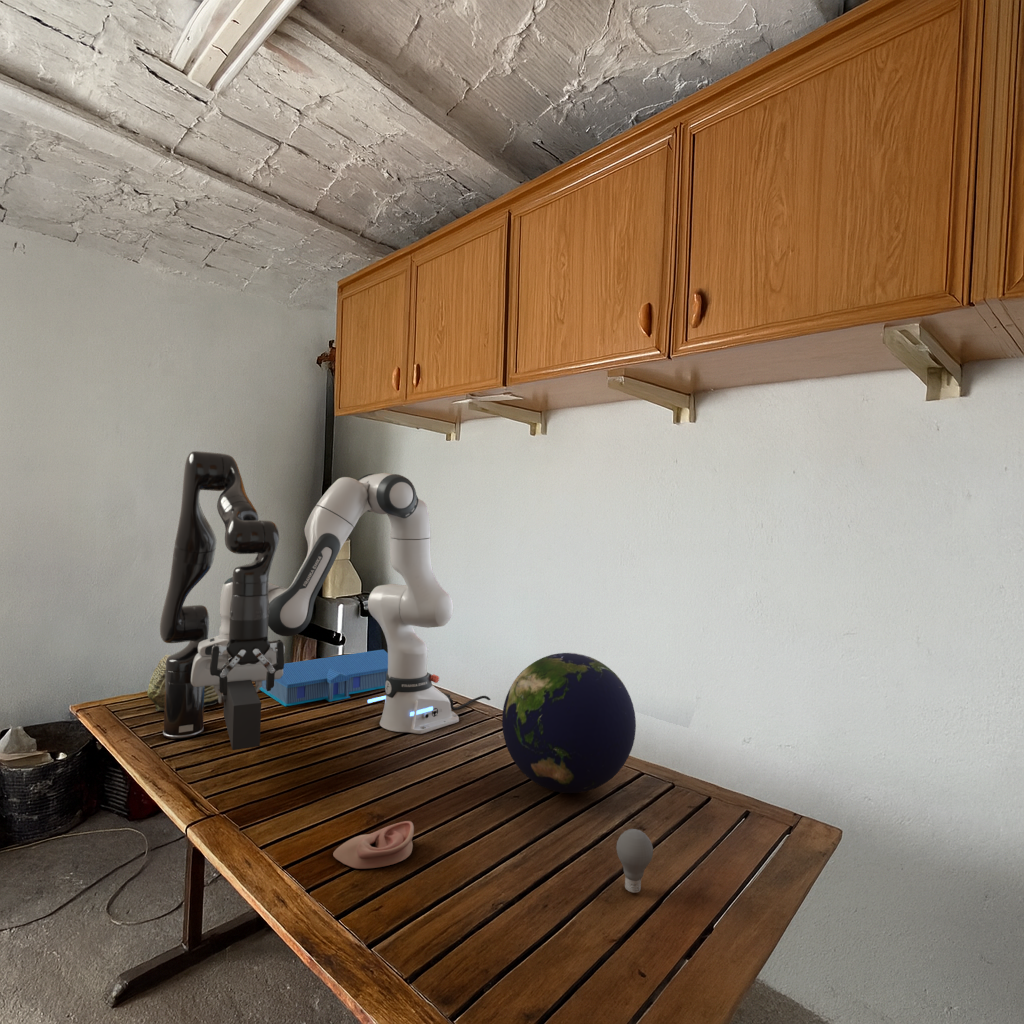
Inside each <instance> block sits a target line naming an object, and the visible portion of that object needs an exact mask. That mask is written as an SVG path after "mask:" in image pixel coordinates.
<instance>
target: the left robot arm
mask: <svg viewBox="0 0 1024 1024" xmlns="http://www.w3.org/2000/svg"><path fill="white" fill-rule="evenodd" d="M183 470H184V471H183V480H182V481H183V482H182V492H181V505H180V513H179V520H178V525H177V530H176V536H175V540H174V545H173V551H172V552H173V553H172V561H171V569H170V577H169V583H168V588H167V591H166V595H165V599H164V603H163V608H162V611H161V616H160V621H159V636H160V638H161V640H162V641H163V642H164V643H166V644H178V643H188V644H187V645H186V646H184V647H183V648H182V649H180V650H179V651H177V652H175V653H173V654H170V655H171V656H169V657H168V658H167V660H166V674H165V705H164V710H163V730H162V737H164V738H166V739H169V740H185V739H190V738H191V739H192V738H194V737H197V736H199V735H202V734H203V732H204V730H205V729H204V726H205V725H204V722H205V721H204V718H205V706H204V693H205V686H202V687H194V686H193V685H192V684H191V671H192V665H193V661H194V658H195V656H196V655H197V654H198V644H199V642H201V641H203V640H206V639H209V633H210V613H209V610H208V609H207V607H206V606H205V605H203V604H194V605H193V604H192V605H184V603H185V601H186V600H187V597H188V595H189V594H190V593H191V591H193V589H194V588H195V587H196V585H198V584H199V582H200V581H201V580H202V579H203V578H204V577H205V576H206V575H207V573H209V571H210V570H211V568H212V566H213V564H214V559H215V555H216V549H217V537H216V534H215V531H214V530H213V528H212V526H211V524H210V522H209V520H208V519H207V517H206V515H205V513H204V512H203V509H202V507H201V503H200V493H201V491H210V492H211V491H212V492H221V494H220V495H219V497H218V499H217V502H216V509H217V513H218V515H219V517H220V519H221V521H222V523H223V524H224V530H225V532H224V544H225V547H226V549H227V550H228V551H229V552H231V553H233V554H236V555H256V556H255V558H254V560H253V561H252V562H249V563H245V564H242V565H238V566H236V567H235V568H234V569H233V571H232V577H233V583H232V599H231V604H230V629H229V642H228V644H227V645H218V644H214V645H213V646H212V653H211V662H210V674H211V675H212V676H214V675H215V676H218V677H219V691H220V693H222V694H223V696H225V695H227V674H228V673H229V672H230V671H231V670H232V669H233V668H234V667H235V665H236V664H240V665H245V664H256V663H258V662H259V661H260V662H261V663H262V664H263V665H264V667H265V668H266V669H267V670H268V672H267V675H266V690H267V691H271V688H273V687H274V678H275V672H276V671H278V670H282V669H283V668H284V664H285V653H284V646H285V644H284V643H283V641H282V640H281V639H277V640H276V642H269V641H270V640H269V626H268V620H269V599H268V584H269V583H270V582H269V581H270V580H269V579H270V572H271V569H272V564H273V562H274V557H275V555H276V553H277V549H278V547H279V542H280V530H279V528H278V525H276V523H275V522H274V521H271V520H265V519H264V520H263V519H261V520H259V519H260V518H259V513H258V511H257V509H256V508H255V506H254V504H253V503H252V501H251V500H250V499H249V496H248V495H247V492H246V489H245V485H244V482H243V478H242V475H241V472H240V468H239V466H238V463H237V461H236V460H235V459H234V456H231V455H230V454H227V453H222V452H210V451H201V450H200V451H199V450H194V451H190V452H189V453H188V455H187V457H186V459H185V464H184V469H183ZM270 647H271V648H273V651H274V652H276V664H273V665H272V664H271V663H270V662H269V661H268V659H267V658H266V657H265V656H264V655H265V654H266V652H267V651H268V650H269V648H270ZM226 650H227V652H228V653H229V655H230V656H231V657H230V658H229V659H228V660H227V662H226V663H225V665H224V666H223V667H222V668H221V669H218V668H217V667H218V657H219V656H221V655H222V654H223V652H224V651H226Z"/></svg>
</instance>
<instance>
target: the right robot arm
mask: <svg viewBox="0 0 1024 1024" xmlns="http://www.w3.org/2000/svg"><path fill="white" fill-rule="evenodd" d="M366 512H368V513H374V514H377V515H378V514H379V515H386V516H387V517H388V520H389V522H390V523H389V524H390V558H389V559H390V560H389V561H390V565H391V568H393V570H394V571H396V573H399V575H400V576H401V577H402V578H403V580H404V582H405V584H398V583H397V584H396V583H388V584H381V585H377V586H375V587H374V588H373V589H372V591H371V592H370V593H369V596H368V600H367V608H368V612H369V614H370V616H372V618H373V619H374V620H375V621H376V622H377V623H378V625H379V626H380V627H381V630H382V632H383V636H384V637H385V641H386V645H387V647H386V648H387V653H388V673H387V674H386V683H385V688H384V691H385V695H383V696H379V697H373V698H370V699H367V704H371V703H373V702H379V701H383V700H384V706H383V710H382V714H381V717H380V721H379V726H380V727H381V728H383V729H385V730H387V731H390V732H397V733H411V734H417V735H422V734H426V733H429V732H432V731H435V730H438V729H441V728H444V727H447V726H450V725H454V724H457V723H459V721H460V718H459V715H458V714H457V713H456V712H455V711H457V710H461V709H462V708H464V707H467V706H469V705H470V704H472V703H475V702H476V701H479V700H482V699H486V700H487V701H491V698H490V697H489V696H488V695H480V696H478V697H475V698H472V699H470V700H468V701H467V702H465V703H462V704H461V705H459V706H456V707H455V706H454V700H453V699H452V698H451V694H449V693H446V692H444V691H441V690H439V689H438V688H436V686H434V685H433V683H435V684H438V683H439V681H440V676H439V675H436V674H434V673H433V674H431V673H430V672H428V661H429V660H428V659H429V648H428V645H427V643H426V641H424V639H422V638H420V637H419V636H418V634H417V633H416V631H415V629H414V628H415V627H419V628H420V627H421V628H426V629H429V628H440V627H444V626H446V625H447V624H448V623H449V621H450V620H451V619H452V616H453V614H454V613H453V612H454V602H453V599H452V597H451V595H450V594H449V593H448V592H447V591H446V590H445V589H444V588H443V587H442V586H441V584H440V582H439V581H438V579H437V577H436V575H435V572H434V570H433V566H432V565H433V564H432V553H431V550H432V549H431V522H430V521H431V520H430V515H429V514H430V513H429V508H428V505H427V504H426V502H425V501H424V500H423V499H420V498H418V495H417V491H416V487H415V486H414V484H413V482H412V481H411V480H410V479H409V478H407V477H406V476H404V475H402V474H397V473H396V474H395V473H389V472H380V473H368V474H365V475H363V476H361V477H360V478H357V479H356V478H352V477H349V476H342V477H339V478H338V479H336V480H335V481H334V482H333V483H332V484H331V485H330V486H329V487H328V489H327V490H326V491H325V492H324V494H323V495H322V496H321V498H320V499H319V500H318V502H317V503H316V504H315V506H314V507H313V509H312V510H311V513H310V514H309V516H308V518H307V521H306V523H305V526H304V528H303V529H304V536H305V539H306V542H307V553H306V557H305V558H304V561H303V563H302V564H301V566H300V568H299V570H298V572H297V573H296V575H295V576H294V579H293V580H292V582H291V584H290V585H289V587H284V586H281V585H277V584H274V583H271V582H269V584H268V599H269V620H268V628H269V629H270V630H271V631H272V632H273V633H274V634H276V635H279V636H282V637H292V636H296V635H299V634H300V633H301V632H303V631H304V630H305V629H306V628H307V627H308V625H309V624H310V623H311V619H312V616H313V612H314V606H315V601H316V598H317V596H318V594H319V592H320V590H321V588H322V586H323V585H324V583H325V581H326V579H327V577H328V575H329V573H330V571H331V569H332V567H333V566H334V563H335V562H336V560H337V557H338V555H339V553H340V551H341V549H342V548H343V546H344V544H345V543H346V541H347V539H348V538H349V536H350V535H351V533H352V531H353V530H354V528H355V527H356V525H357V523H358V522H359V519H360V518H361V517H362V516H363V514H365V513H366ZM232 583H233V576H231V577H229V578H228V579H226V580H225V582H224V583H223V585H222V587H221V593H220V599H219V600H220V602H219V616H220V626H219V630H218V635H215V636H213V637H212V636H211V637H208V639H206V640H203V641H201V642H199V644H198V654H197V655H196V656H195V658H194V661H193V665H192V671H191V684H192V685H193V686H194V687H202V686H212V685H214V690H215V692H216V693H217V695H218V696H219V699H218V704H224V703H225V702H226V700H225V699H226V695H225V696H223V693H220V691H219V677H218V676H215V675H214V676H212V675H211V674H210V662H211V653H212V646H213V645H214V644H218V645H227V644H228V642H229V629H230V604H231V599H232ZM268 641H269V642H276V641H277V640H271V641H270V640H268ZM285 649H286V647H285V645H284V654H286V653H285V651H286V650H285ZM264 656H265V657H266V658H267V659H268V661H269V662H270V663H271V664H272V665H273V664H276V652H274V651H273V648H271V647H270V648H269V650H268V651H267V652H266V654H265V655H264ZM230 657H231V656H230V655H229V653H228V652H227V650H226V651H224V652H223V654H222V655H221V656H219V657H218V667H217V668H218V669H221V668H222V667H223V666H224V665H225V663H226V662H227V660H228V659H229V658H230ZM267 672H268V670H267V669H266V668H265V667H264V665H263V664H262V663H261V662H260V661H259V662H258V663H256V664H245V665H240V664H236V665H235V667H234V668H233V669H232V670H231V671H230V672H229V673H228V674H227V682H233V681H243V680H251V681H252V683H253V682H254V688H255V690H256V692H257V693H258V692H259V690H260V687H262V681H263V680H266V675H267ZM282 676H283V669H282V670H278V671H276V672H275V678H274V679H280V678H281V677H282Z"/></svg>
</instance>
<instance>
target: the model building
mask: <svg viewBox="0 0 1024 1024" xmlns="http://www.w3.org/2000/svg"><path fill="white" fill-rule="evenodd" d="M387 673H388V651H386V650H385V649H376V650H368V651H363V652H356V653H349V654H342V655H341V654H340V655H335V656H329V657H328V656H327V657H321V658H315V659H314V658H313V659H307V660H300V661H293V662H287V663H285V662H284V668H283V676H282V677H281V678H280V679H274V687H273V688H271V691H267V690H266V680H263V681H262V685H261V687H260V689H259V690H260V691H261V692H262V693H264V694H265V695H267V696H268V697H270V698H271V699H273V700H274V701H276V702H277V703H279V704H280V705H282V706H283V707H290V706H297V705H302V704H307V703H312V702H317V701H323V700H325V701H327V702H329V703H330V702H335V701H341V700H346V699H347V700H348V699H350V698H351V695H353V694H359V693H364V692H365V693H366V692H369V691H373V690H381V689H385V683H386V674H387Z"/></svg>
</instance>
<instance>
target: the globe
mask: <svg viewBox="0 0 1024 1024" xmlns="http://www.w3.org/2000/svg"><path fill="white" fill-rule="evenodd" d="M501 715H502V716H501V718H502V719H501V727H502V734H503V739H504V742H505V747H506V749H507V751H508V753H509V756H510V757H511V759H512V761H513V762H514V763H515V765H516V767H518V769H519V770H520V772H522V773H523V775H525V776H526V777H527V778H528V779H529V780H531V781H532V782H534V783H535V784H536V785H538V786H540V787H542V788H544V789H547V790H550V791H553V792H557V793H561V794H580V793H581V794H582V793H585V792H589V791H592V790H594V789H597V788H599V787H601V786H603V785H605V784H606V783H607V782H609V781H610V780H612V779H613V778H614V777H615V776H616V775H617V774H618V773H619V772H620V770H621V769H622V768H623V766H624V765H625V763H626V762H627V761H628V759H629V757H630V755H631V752H632V749H633V746H634V743H635V738H636V732H637V730H636V729H637V720H636V712H635V708H634V703H633V700H632V697H631V695H630V693H629V691H628V689H627V687H626V685H625V684H624V682H623V681H622V680H621V678H620V677H619V675H618V674H617V673H615V671H613V670H612V669H611V668H610V667H609V666H607V665H606V664H604V663H603V662H601V661H600V660H598V659H596V658H593V657H591V656H589V655H585V654H581V653H577V652H559V653H558V652H557V653H554V654H553V653H552V654H548V655H546V656H543V657H541V658H539V659H536V661H533V662H532V663H531V664H529V665H528V666H527V667H525V668H524V669H522V671H521V672H520V673H519V674H518V675H517V677H516V678H515V679H514V680H513V682H512V684H511V686H510V688H509V689H508V691H507V694H506V696H505V700H504V703H503V707H502V714H501Z"/></svg>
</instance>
